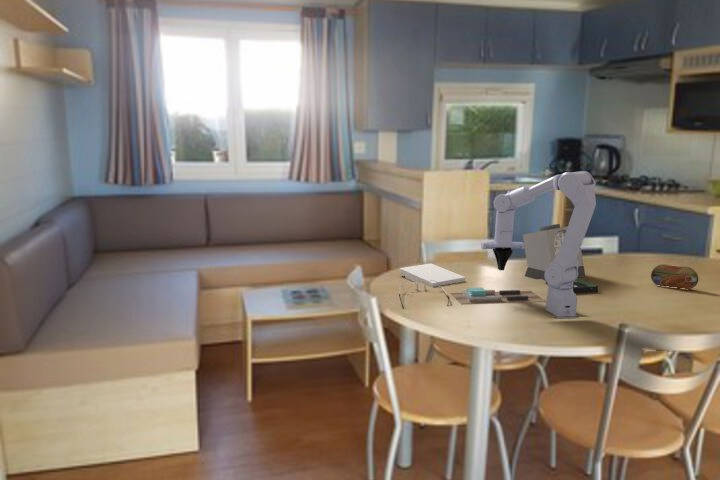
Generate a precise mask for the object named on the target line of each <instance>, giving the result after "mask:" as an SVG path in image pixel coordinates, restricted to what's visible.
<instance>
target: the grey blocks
mask: <svg viewBox="0 0 720 480" xmlns="http://www.w3.org/2000/svg"><path fill="white" fill-rule="evenodd" d="M520 291H521V290H520V289H511V290H509V289H508V290H507V289H506V290H499V291H498V292H499V294H500V295H513V294H520ZM507 300H508V301H512V300H528V296H507Z"/></svg>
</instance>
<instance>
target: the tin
mask: <svg viewBox="0 0 720 480" xmlns="http://www.w3.org/2000/svg"><path fill="white" fill-rule="evenodd" d="M698 275H699V274H698V273H697V272H696V271H695V269H693V268H692V267H689V266H683V265H674V264H665V263H663V264H662V263H661V264H658V265H656V266H654V268H653V269H652V271H651V273H650V278H651V279H650V280H651V281H652V282H653V283H654V284H655V285H656V286H657V285H660V286H669V287H677V288H685V289H689V290H691V289H693V288H695V287H696V286H697V285H698V283H699V276H698ZM660 286H659V287H660Z"/></svg>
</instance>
